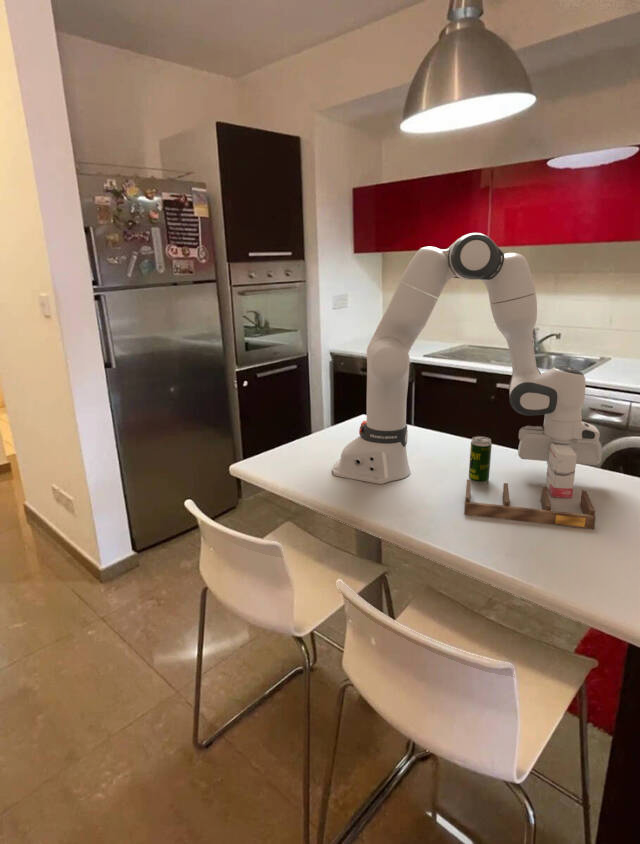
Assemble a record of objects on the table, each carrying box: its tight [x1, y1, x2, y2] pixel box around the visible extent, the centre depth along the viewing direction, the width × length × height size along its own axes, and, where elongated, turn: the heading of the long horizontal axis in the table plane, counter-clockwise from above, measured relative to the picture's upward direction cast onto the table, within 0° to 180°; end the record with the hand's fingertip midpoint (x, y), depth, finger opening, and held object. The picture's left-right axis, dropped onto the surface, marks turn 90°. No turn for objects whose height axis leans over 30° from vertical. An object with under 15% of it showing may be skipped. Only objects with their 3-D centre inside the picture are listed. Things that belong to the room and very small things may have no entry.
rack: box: [463, 478, 596, 530], centre depth 123 cm, size 28×12×4 cm, turn 73°
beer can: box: [468, 436, 493, 485], centre depth 139 cm, size 5×5×12 cm
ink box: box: [545, 443, 577, 499], centre depth 132 cm, size 9×5×12 cm, turn 168°
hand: (555, 476), depth 139 cm, fingers closed
